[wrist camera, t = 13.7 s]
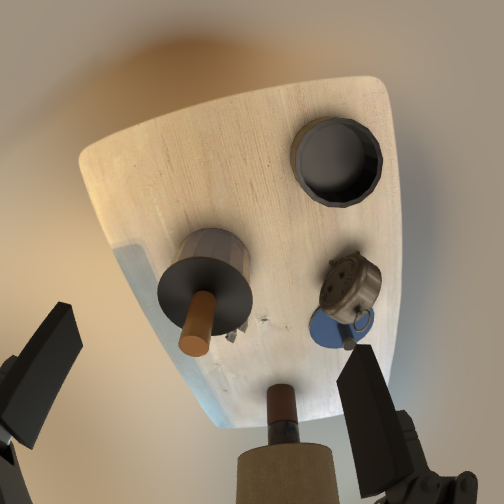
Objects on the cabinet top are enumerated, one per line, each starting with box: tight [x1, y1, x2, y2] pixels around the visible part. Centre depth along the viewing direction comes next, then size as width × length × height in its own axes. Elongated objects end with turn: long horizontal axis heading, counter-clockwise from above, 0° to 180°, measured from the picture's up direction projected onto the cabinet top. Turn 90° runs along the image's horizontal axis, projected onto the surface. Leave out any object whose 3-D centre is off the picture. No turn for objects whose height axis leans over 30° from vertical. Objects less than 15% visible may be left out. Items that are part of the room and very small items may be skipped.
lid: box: [157, 256, 253, 357], centre depth 36 cm, size 14×14×10 cm
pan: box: [290, 117, 383, 208], centre depth 39 cm, size 13×13×6 cm
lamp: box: [236, 384, 340, 504], centre depth 51 cm, size 20×20×35 cm
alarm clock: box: [319, 251, 382, 332], centre depth 43 cm, size 11×5×16 cm, turn 147°
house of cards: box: [225, 316, 270, 343], centre depth 52 cm, size 9×9×8 cm
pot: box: [170, 228, 250, 286], centre depth 45 cm, size 13×13×10 cm
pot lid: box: [310, 307, 374, 351], centre depth 53 cm, size 14×14×7 cm
